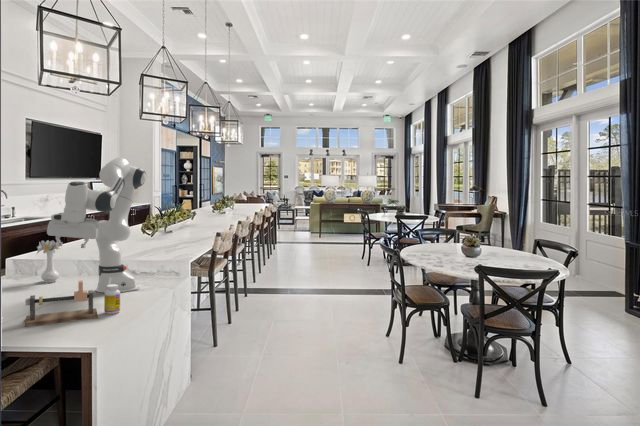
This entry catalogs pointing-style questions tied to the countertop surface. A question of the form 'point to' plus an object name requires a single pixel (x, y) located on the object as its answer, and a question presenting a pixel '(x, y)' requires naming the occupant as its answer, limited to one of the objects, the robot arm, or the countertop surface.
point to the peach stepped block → (80, 293)
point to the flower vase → (49, 260)
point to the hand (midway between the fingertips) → (71, 247)
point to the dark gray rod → (50, 299)
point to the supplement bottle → (112, 299)
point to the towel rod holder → (60, 314)
